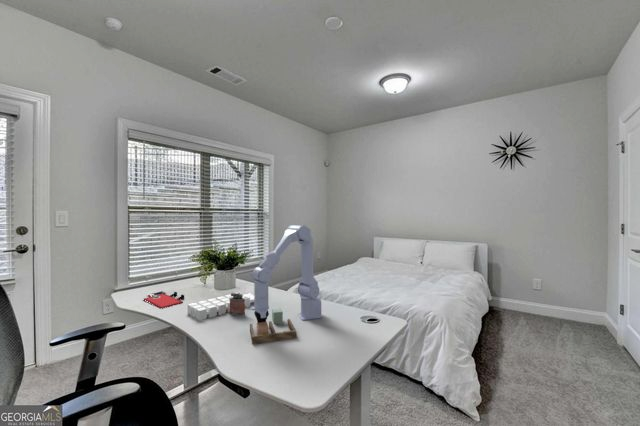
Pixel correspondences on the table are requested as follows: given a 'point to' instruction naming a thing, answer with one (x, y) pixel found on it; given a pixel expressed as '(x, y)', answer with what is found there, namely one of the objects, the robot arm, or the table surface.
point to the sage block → (277, 316)
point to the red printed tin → (237, 304)
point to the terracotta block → (262, 328)
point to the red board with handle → (164, 299)
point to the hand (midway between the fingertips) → (261, 329)
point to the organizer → (215, 306)
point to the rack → (273, 334)
